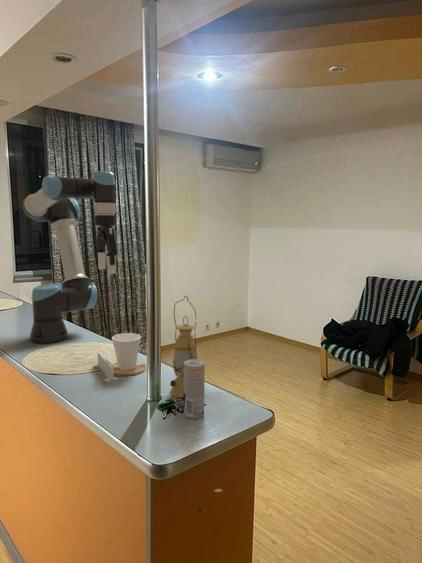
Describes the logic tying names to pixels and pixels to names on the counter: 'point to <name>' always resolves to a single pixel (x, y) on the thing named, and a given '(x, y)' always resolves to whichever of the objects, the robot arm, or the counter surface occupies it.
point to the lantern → (182, 354)
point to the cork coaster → (137, 370)
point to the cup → (126, 350)
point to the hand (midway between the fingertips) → (106, 271)
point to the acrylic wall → (106, 368)
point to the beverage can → (194, 388)
